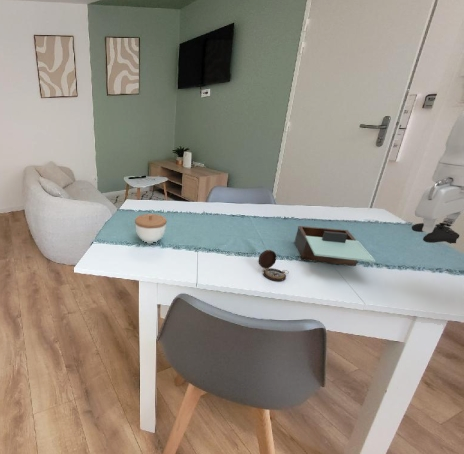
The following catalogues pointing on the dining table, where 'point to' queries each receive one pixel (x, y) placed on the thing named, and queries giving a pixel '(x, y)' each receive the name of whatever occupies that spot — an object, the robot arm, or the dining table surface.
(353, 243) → the case lid
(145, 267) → the dining table surface
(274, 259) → the compass
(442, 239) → the gaming controller
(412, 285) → the dining table surface
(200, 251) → the dining table surface
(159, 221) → the lidded bowl
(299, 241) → the case
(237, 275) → the dining table surface
